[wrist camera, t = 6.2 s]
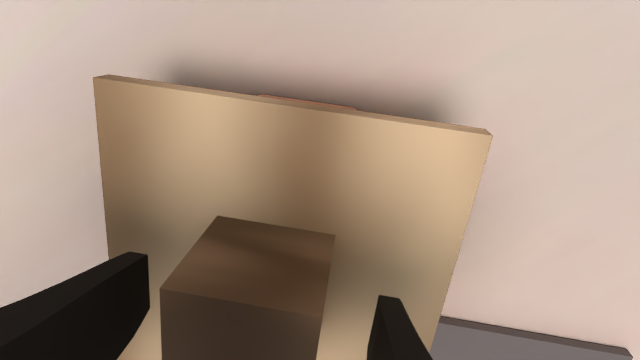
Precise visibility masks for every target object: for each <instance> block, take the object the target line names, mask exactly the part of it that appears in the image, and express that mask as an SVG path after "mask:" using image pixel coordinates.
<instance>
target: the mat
mask: <svg viewBox="0 0 640 360" xmlns="http://www.w3.org/2000/svg"><path fill="white" fill-rule="evenodd" d="M429 354H430V355H431V357H432V359H433V360H632V358H633V356H632V355H631V354H630V353H629V351H628V350H627V349H623V348H618V347H612V346H606V345H601V344H595V343H589V342H584V341H578V340H572V339H566V338H561V337H555V336H549V335H544V334H538V333H532V332H527V331H521V330H515V329H509V328H504V327H498V326H492V325H487V324H481V323H475V322H469V321H464V320H458V319H452V318H447V317H441V316H440V318H439V322H438V325H437V328H436V332H435V335H434V339H433V342H432V345H431V349H430V352H429Z"/></svg>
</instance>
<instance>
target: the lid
mask: <svg viewBox="0 0 640 360" xmlns="http://www.w3.org/2000/svg"><path fill="white" fill-rule="evenodd" d="M93 84H94V96H95V107H96V118H97V130H98V141H99V152H100V164H101V175H102V186H103V198H104V209H105V220H106V232H107V243H108V254H109V260H110V259H112V258H115V257H117V256H119V255H121V254H124V253H126V252H129V251H130V252H136V253H142V254H147V255H148V268H149V291H150V309H149V311H148V313H147V315H146V316H145V318H144V320H143V322H142V324H141V325H140V327H139V329H138V330H137V332H136V334H135V336H134V337H133V339H132V340H131V341H130V343H129V344H128V345H127V347H126V348H125V349H124V351H123V352H122V353H121V355H120V356H119V357H118V360H367V347H368V342H369V337H370V333H371V328H372V324H373V319H374V315H375V310H376V305H377V301H378V296H379V295H383V296H389V297H395V298H399V299H400V300H401V301H402V303H403V305H404V307H405V310H406V312H407V314H408V316H409V318H410V320H411V322H412V324H413V325H414V327H415V329H416V331H417V333H418V335H419V337H420V338H421V340H422V342H423V344H424V345H425V347H426V349H427V350H428V352H430V349H431V345H432V342H433V339H434V335H435V332H436V328H437V325H438V322H439V318H440V315H441V311H442V308H443V304H444V301H445V298H446V294H447V291H448V287H449V284H450V281H451V277H452V274H453V270H454V267H455V264H456V260H457V257H458V253H459V250H460V247H461V243H462V240H463V236H464V233H465V229H466V226H467V223H468V219H469V216H470V212H471V209H472V206H473V202H474V199H475V195H476V192H477V189H478V185H479V182H480V178H481V175H482V171H483V168H484V165H485V161H486V158H487V154H488V151H489V148H490V144H491V141H492V137H493V135H491V134H490V133H489V132H488V131H487V130H486V129H481V128H474V127H467V126H460V125H454V124H447V123H440V122H433V121H426V120H419V119H412V118H405V117H398V116H391V115H385V114H378V113H371V112H364V111H357V110H350V109H343V108H336V107H329V106H322V105H316V104H309V103H302V102H295V101H288V100H281V99H274V98H267V97H260V96H253V95H247V94H240V93H233V92H226V91H219V90H212V89H205V88H198V87H191V86H184V85H178V84H171V83H164V82H157V81H150V80H143V79H136V78H129V77H122V76H115V75H104V76H98V77H93Z"/></svg>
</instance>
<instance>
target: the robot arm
mask: <svg viewBox="0 0 640 360" xmlns="http://www.w3.org/2000/svg"><path fill="white" fill-rule="evenodd" d="M149 309H150V291H149V268H148V255H147V254H142V253H136V252H130V251H129V252H126V253H124V254H121V255H119V256H117V257H115V258H112V259H110V260H108V261H106V262H104V263H102V264H100V265H98V266H95V267H93V268H91V269H89V270H87V271H85V272H83V273H81V274H79V275H76V276H74V277H72V278H70V279H68V280H66V281H64V282H61V283H59V284H57V285H55V286H52V287H50V288H48V289H45V290H43V291H41V292H38V293H36V294H34V295H31V296H29V297H27V298H24V299H22V300H19V301H17V302H14V303H12V304H9V305H7V306H4V307H1V308H0V360H118V357H119V356H120V355H121V353H122V352H123V351H124V349H125V348H126V347H127V345H128V344H129V343H130V341H131V340H132V339H133V337H134V336H135V334H136V332H137V330H138V329H139V327H140V325H141V324H142V322H143V320H144V318H145V316H146V315H147V313H148V311H149ZM367 360H433V359H432V357H431V355H430V354H429V352H428V350H427V349H426V347H425V345H424V344H423V342H422V340H421V338H420V337H419V335H418V333H417V331H416V329H415V327H414V325H413V324H412V322H411V320H410V318H409V316H408V314H407V312H406V310H405V307H404V305H403V303H402V301H401V300H400V299H399V298H395V297H389V296H383V295H379V296H378V301H377V305H376V310H375V315H374V319H373V324H372V328H371V333H370V337H369V342H368V347H367Z"/></svg>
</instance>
